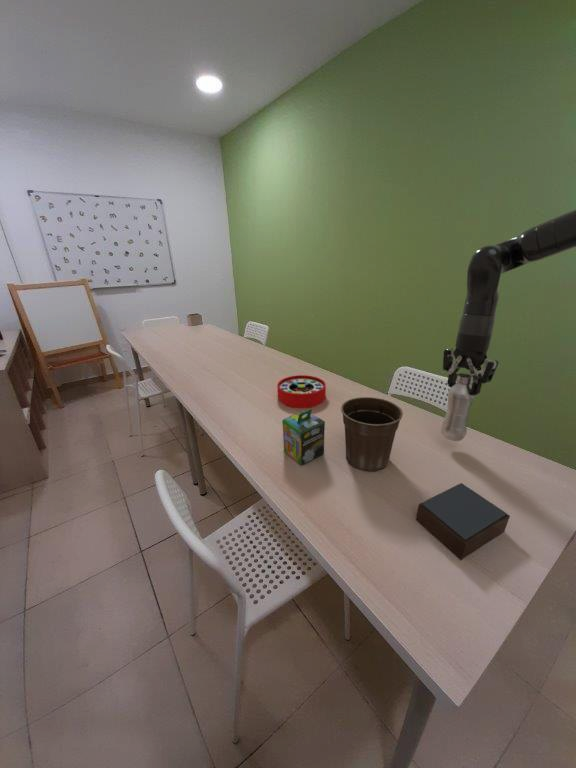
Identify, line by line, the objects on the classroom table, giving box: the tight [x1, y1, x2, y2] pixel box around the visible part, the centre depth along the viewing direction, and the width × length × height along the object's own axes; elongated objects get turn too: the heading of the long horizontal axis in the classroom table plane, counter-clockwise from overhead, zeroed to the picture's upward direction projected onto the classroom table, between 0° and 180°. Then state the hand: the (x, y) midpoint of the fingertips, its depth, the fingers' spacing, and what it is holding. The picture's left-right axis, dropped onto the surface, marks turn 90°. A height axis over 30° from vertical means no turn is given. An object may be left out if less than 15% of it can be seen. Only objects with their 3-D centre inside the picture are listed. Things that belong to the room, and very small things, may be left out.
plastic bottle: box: [440, 372, 476, 442], centre depth 86 cm, size 6×7×20 cm
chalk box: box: [281, 408, 326, 466], centre depth 88 cm, size 9×9×15 cm
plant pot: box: [340, 396, 404, 472], centre depth 85 cm, size 16×16×16 cm
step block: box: [415, 482, 511, 561], centre depth 64 cm, size 14×11×5 cm
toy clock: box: [277, 374, 327, 409], centre depth 125 cm, size 20×6×20 cm
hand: (462, 390), depth 83 cm, fingers closed on plastic bottle, 6 cm apart
